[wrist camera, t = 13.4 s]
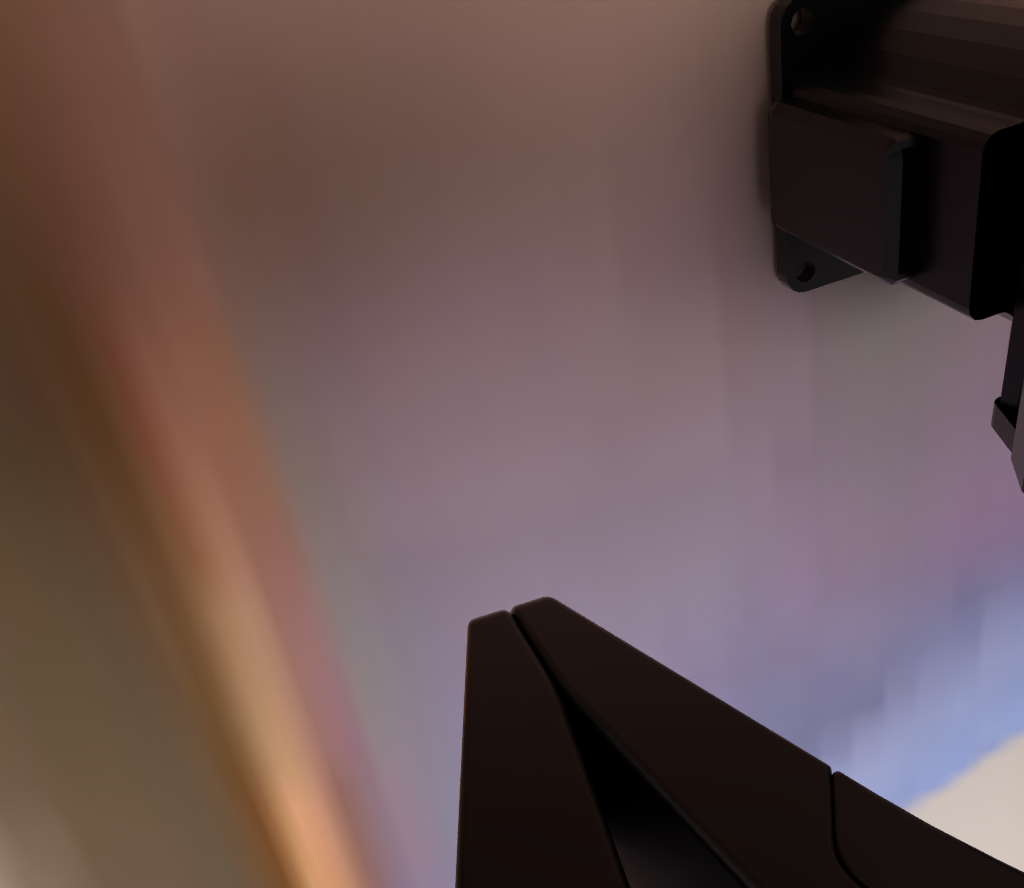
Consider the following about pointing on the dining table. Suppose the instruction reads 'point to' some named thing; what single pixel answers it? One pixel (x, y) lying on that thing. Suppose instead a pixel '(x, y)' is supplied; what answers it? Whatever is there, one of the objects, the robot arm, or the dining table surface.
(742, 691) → the dining table surface
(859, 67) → the robot arm
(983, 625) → the dining table surface
